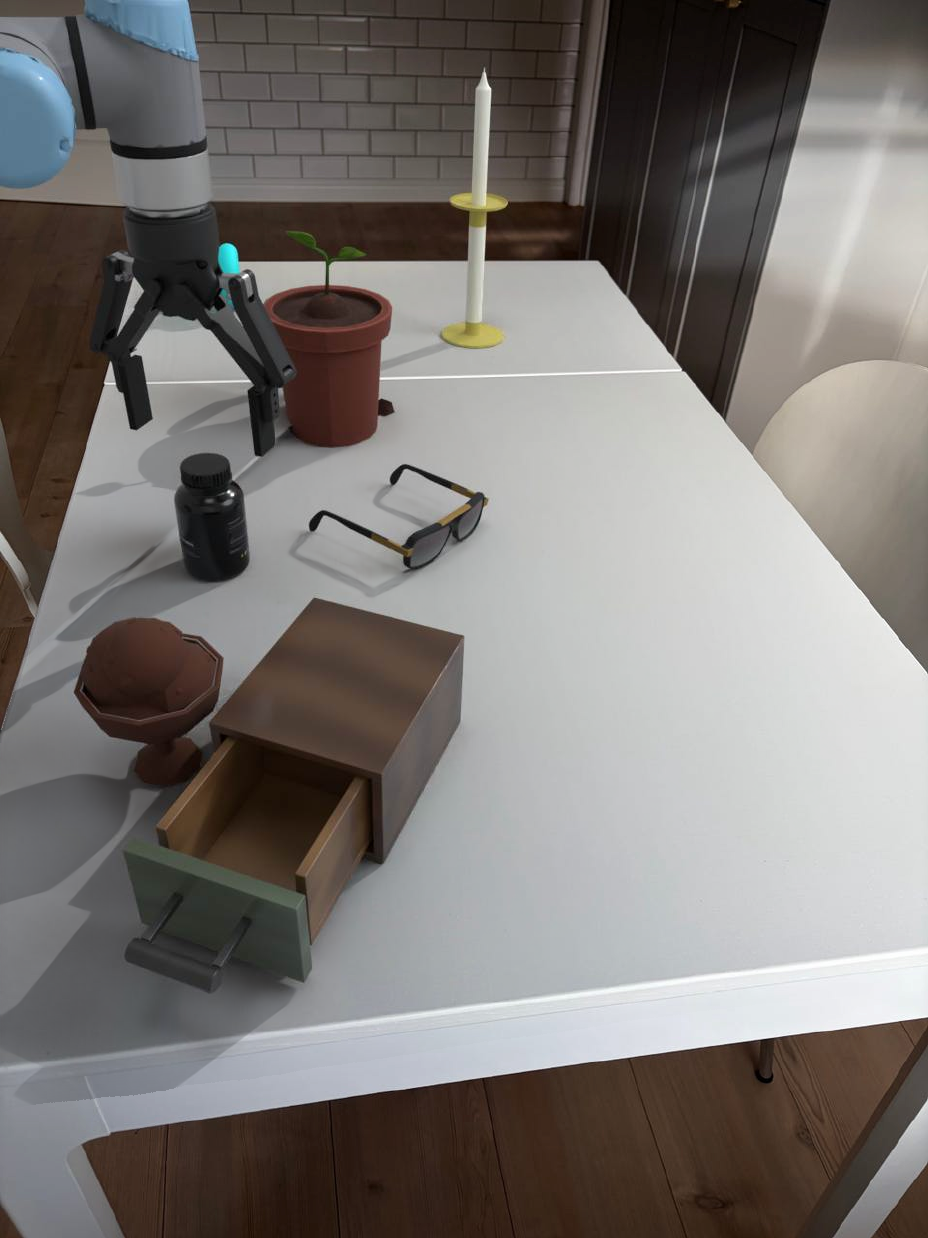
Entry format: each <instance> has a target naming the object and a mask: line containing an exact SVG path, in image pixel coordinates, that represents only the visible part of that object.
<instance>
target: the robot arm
mask: <svg viewBox="0 0 928 1238" xmlns="http://www.w3.org/2000/svg"><path fill="white" fill-rule="evenodd" d="M83 11H84V13H81V14H74V15H70V16H69V15H67V16H49V17H48V16H0V187H3V188H6V189H14V190H15V189H16V190H23V189H31V188H34V187H38V186H40V185H43V184H46V183H48V182H49V181H51V180H52V179H54V178H55V177H56V176H57V175H58V174H59V173H60V172H61V171H62V170H63V169H64V167H65V165H66V164H67V163H68V160H69V158H70V155H71V152H72V149H73V147H74V143H75V139H76V133H77V132H76V131H79V130H81V131H82V130H86V131H91V130H96V129H106V130H107V133H108V137H109V144H110V149H111V150H110V152H111V156H112V163H113V170H114V177H115V181H116V188H117V193H118V199H119V201H120V203H121V204H123V205H124V207H125V208H124V209H123V211H122V219H123V220H122V221H123V226H124V232H125V237H126V243H127V248H128V251H127V250H126V249H119V250H118V251H116V252H114V253H112V254H109V255H108V256H105V257H103V258H102V261H101V266H102V273H103V274H102V276H103V284H102V287H101V288H102V289H101V292H100V296H99V300H98V305H97V308H96V312H95V316H94V320H93V324H92V328H91V332H90V337H89V340H88V347H89V350H90V351H91V352H92V353H95V354H99V353H101V354H102V355H104V356H106V357H107V360H108V361H109V362H110V363H111V367H112V371H113V376H114V382H115V386H116V389H117V391H118V393H120V394H122V395H123V400H124V405H125V410H126V415H127V421H128V426H129V429H130V430H132V431H138V430H139V429H141V428H142V427H144V426H145V425H147V424H148V423H150V422H151V421H152V420H154V418H153V417H154V416H153V412H152V405H151V401H150V400H151V399H150V395H149V389H148V384H147V383H148V382H147V378H146V373H145V368H144V361H143V356H142V355H140V354H133V355H131V354H132V353H134V352H136V351H137V350H138V348H137V346H138V345H139V343H140V342H141V340H143V337H144V336H145V335H146V333H147V331H148V330H149V328H150V327H151V325H152V324H153V322H154V321H155V319H156V318H157V316H158V314H159V313H162V317H169V318H172V317H179V318H181V319H183V320H186V321H191V322H194V321H196V320H197V321H198V322H199V324H200V325H201V326H202V327H203V328H204V330H209V331H210V332H211V333H212V334H213V335H214V337H215V338H216V339H217V341H219V342H218V343H220V345H221V346H222V347H223V348H224V349H225V351H226V352H227V353H228V354H229V355H230V357H231V358H232V359H233V361H234V362H235V363H236V364H237V366H238V367H239V368H240V369H241V371H242V373H243V374H244V375H245V376H246V377H247V379H248V380H249V381H250V383H252V386H251V387H249V389H247V390H246V391H247V392H246V393H247V399H248V400H247V401H248V409H249V417H250V425H251V426H250V428H251V435H252V436H251V437H252V445H253V453H254V456H255V457H260V458H263V457H264V456H265V455H266V454H267V453H268V452H269V451H270V450H272V448H274V447H275V446H276V445H277V443H276V442H277V441H276V433H275V432H276V431H275V430H276V429H275V422H274V421H275V420H276V419H278V418H279V417H280V414H281V407H280V397H279V396H280V395H279V389H283V386H284V385H286V384H287V383H288V382H289V381H291V380H292V379H293V378H294V377H296V375H297V371H296V368H295V366H294V364H293V362H292V360H291V358H290V356H289V354H288V352H287V351H286V349H285V347H284V345H283V343H282V341H281V339H280V337H279V335H278V333H277V331H276V329H275V327H274V325H273V323H272V321H271V319H270V317H269V315H268V313H267V311H266V309H265V307H264V305H263V304H264V302H263V301H262V299H261V298H260V294H259V290H258V289H259V288H258V285H257V279H256V276H255V272H253V271H252V270H251V269H248V268H247V269H244V270H242V271H240V273H224V272H223V271H222V269H221V267H220V264H219V261H218V255H219V247H220V246H221V245H220V243H221V242H220V235H219V226H218V218H217V212H216V211H217V209H216V207H214V206H213V205H212V204H211V203H210V202H212V200H213V198H214V189H213V180H212V179H213V178H212V171H211V163H210V155H209V147H208V139H207V129H206V122H205V121H206V119H205V111H204V102H203V101H204V100H203V92H202V83H201V82H202V81H201V73H200V72H201V71H200V63H199V61H200V57H199V56H200V55H199V54H198V52H197V45H196V41H195V33H194V28H193V22H192V15H191V10H190V3H189V0H84V7H83ZM131 256H132V257H131ZM133 279H135V280H136V282H137V283H138V284H139V287H140V288H141V289H142V290H143V292H142V293H141V295H140V296H139V298H138V299H137V301H136V303H135V304H134V306H133V311H132V312H131V314H130V315H129V317H128V318H127V320H126V322H125V323H124V325H122V326H123V327H122V328H121V329H120V326H121V322H122V319H123V315H124V312H125V308H126V304H127V300H128V296H129V293H130V290H131V287H132V286H131V285H132V281H133ZM223 289H224V290H225V291H226V292H227V294H226V298H227V299H228V300H232V304H233V307H234V309H233V308H232V306H231V305H230V303H229V302H228V301H227V300H226V298H225V297H224V296H223V294H222V293H221V292H222V290H223ZM213 308H214V309H215V310H216V311H215V312H211V311H212V309H213ZM234 313H235V314H236V316H237V317H236V316H235V314H234ZM119 330H120V331H119Z"/></svg>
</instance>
